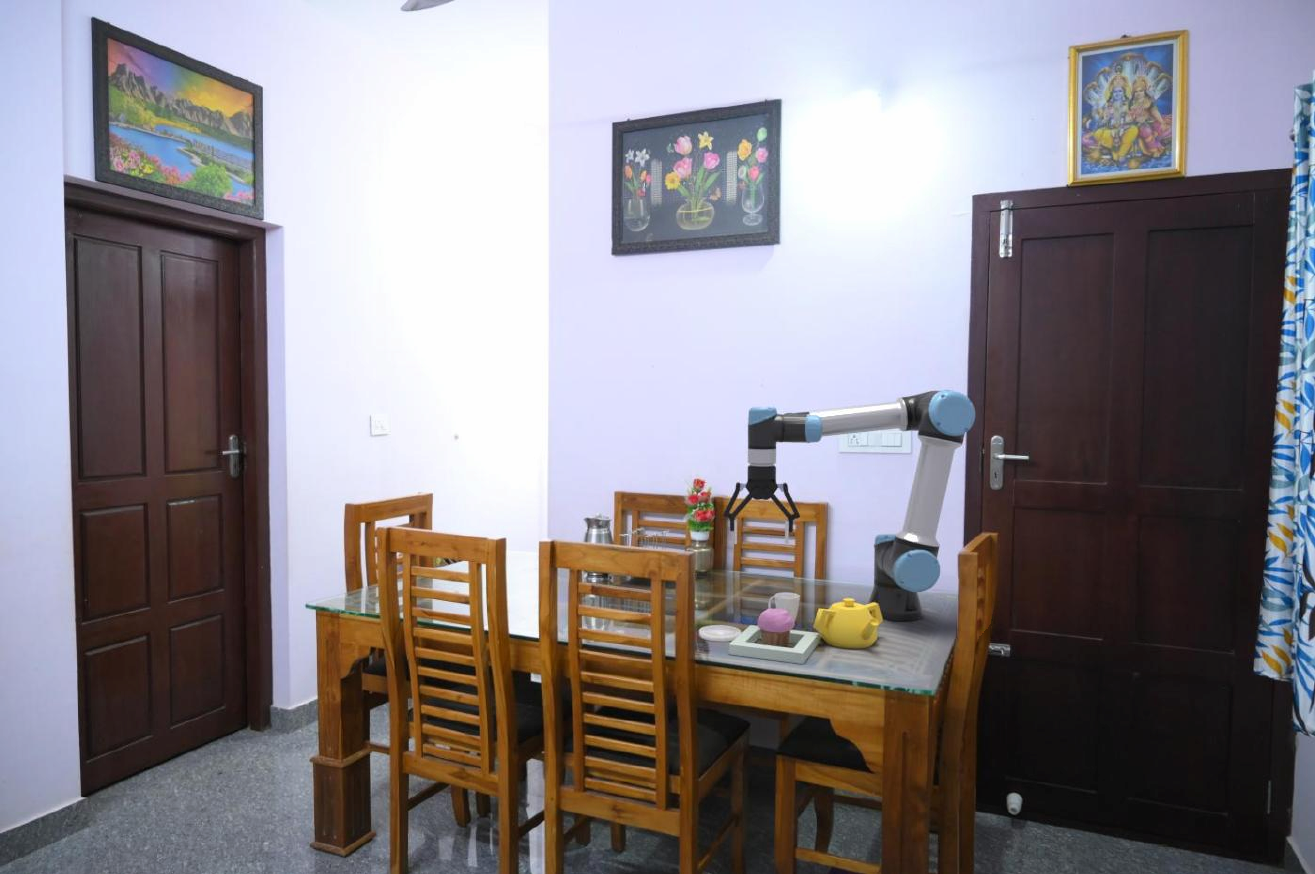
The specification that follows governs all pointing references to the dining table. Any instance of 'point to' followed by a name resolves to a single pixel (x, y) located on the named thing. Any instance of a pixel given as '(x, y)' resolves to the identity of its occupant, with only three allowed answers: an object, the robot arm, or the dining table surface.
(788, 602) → the cup
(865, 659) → the dining table surface
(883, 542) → the robot arm
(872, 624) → the teapot
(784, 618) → the cupcake
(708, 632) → the plate
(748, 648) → the frame
